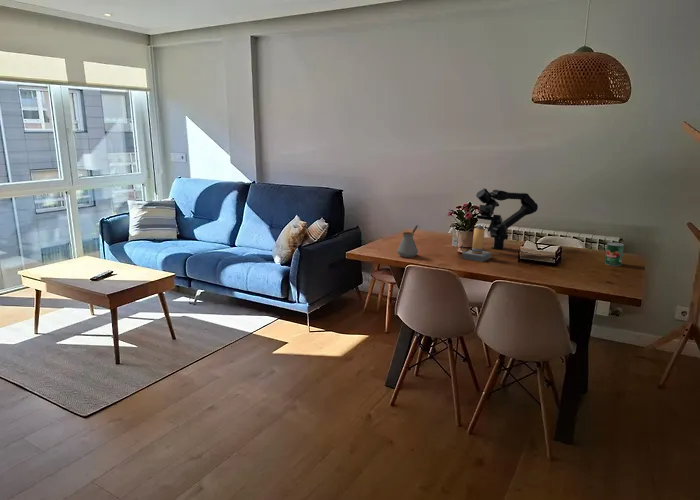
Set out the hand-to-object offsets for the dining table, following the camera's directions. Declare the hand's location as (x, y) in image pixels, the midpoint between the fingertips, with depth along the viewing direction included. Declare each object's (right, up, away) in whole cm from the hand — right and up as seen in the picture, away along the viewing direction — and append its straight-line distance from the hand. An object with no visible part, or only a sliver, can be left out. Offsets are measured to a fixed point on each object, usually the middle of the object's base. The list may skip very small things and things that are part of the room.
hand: (480, 230), depth 280 cm
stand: (-4, -16, -7) cm, 18 cm away
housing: (-4, -12, -8) cm, 15 cm away
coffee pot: (-39, -14, +2) cm, 41 cm away
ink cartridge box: (-7, -9, +20) cm, 24 cm away
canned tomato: (+64, -19, -19) cm, 70 cm away
